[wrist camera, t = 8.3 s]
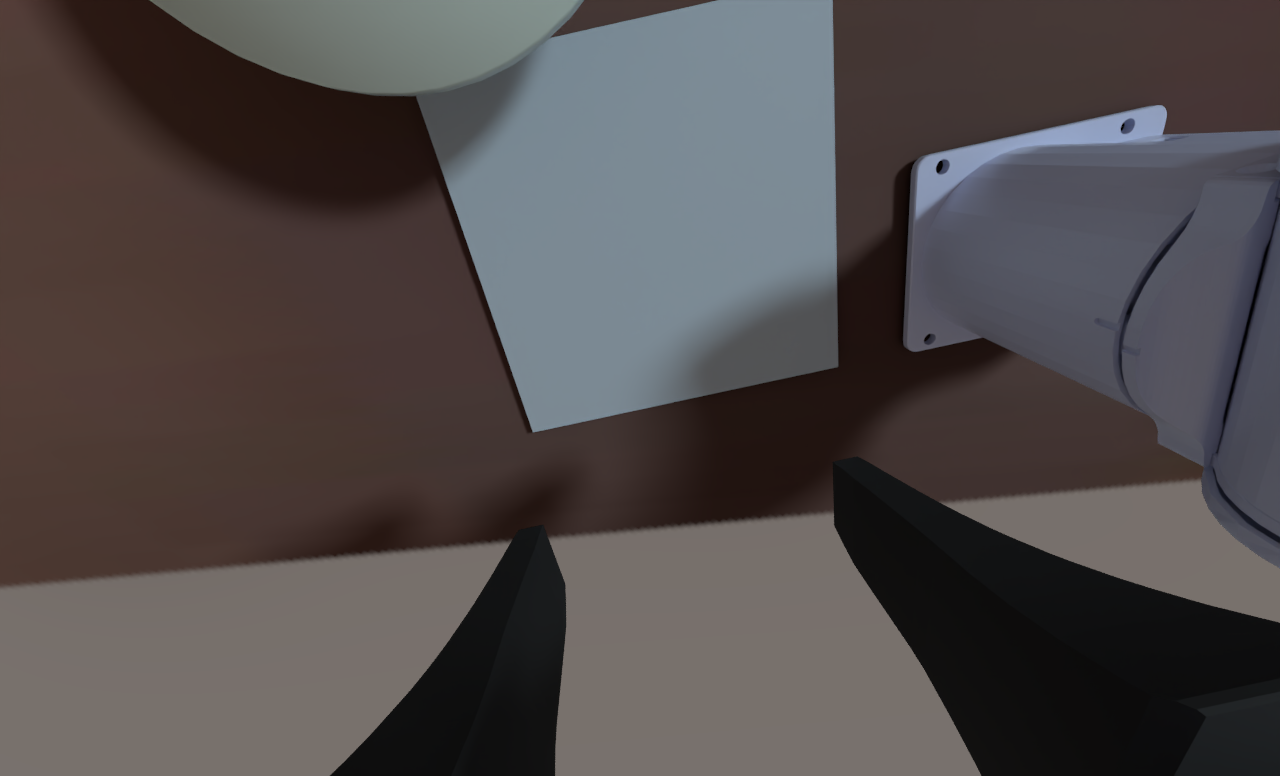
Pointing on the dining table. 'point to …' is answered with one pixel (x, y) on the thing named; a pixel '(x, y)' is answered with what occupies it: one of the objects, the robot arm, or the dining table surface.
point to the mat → (653, 205)
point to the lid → (378, 38)
